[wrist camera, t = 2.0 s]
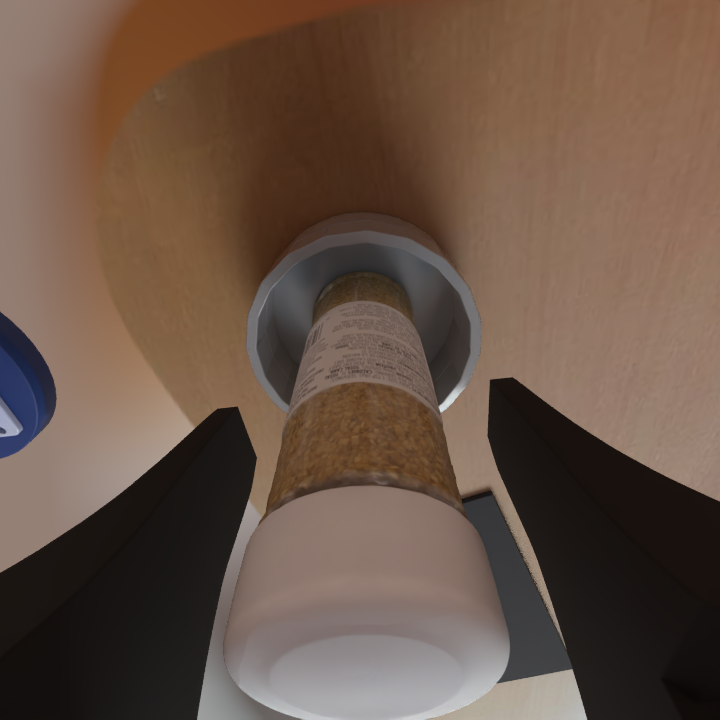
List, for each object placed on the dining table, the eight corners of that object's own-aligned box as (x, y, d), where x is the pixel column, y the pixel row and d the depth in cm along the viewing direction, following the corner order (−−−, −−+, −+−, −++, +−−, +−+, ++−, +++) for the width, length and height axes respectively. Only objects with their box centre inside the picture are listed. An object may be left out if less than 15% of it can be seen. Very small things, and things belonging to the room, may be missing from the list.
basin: (290, 400, 20) (278, 447, 17) (241, 228, 16) (213, 251, 13) (460, 382, 20) (478, 427, 17) (460, 196, 15) (484, 214, 12)
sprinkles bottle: (373, 375, 19) (390, 754, 8) (293, 326, 18) (165, 697, 6) (435, 305, 17) (586, 669, 6) (350, 244, 16) (321, 559, 4)
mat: (345, 535, 26) (345, 539, 26) (491, 490, 24) (492, 494, 23) (468, 685, 38) (469, 688, 38) (572, 664, 36) (574, 668, 35)
